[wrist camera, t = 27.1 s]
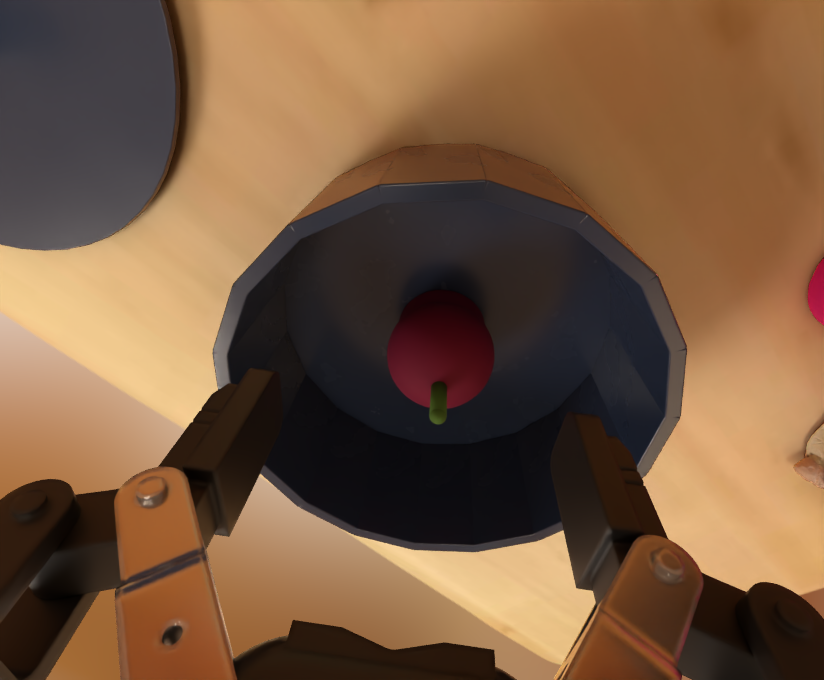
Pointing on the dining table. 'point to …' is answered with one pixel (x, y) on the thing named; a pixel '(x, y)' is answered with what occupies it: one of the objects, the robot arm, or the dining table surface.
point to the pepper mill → (817, 293)
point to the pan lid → (83, 117)
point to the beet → (440, 352)
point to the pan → (503, 316)
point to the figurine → (813, 460)
